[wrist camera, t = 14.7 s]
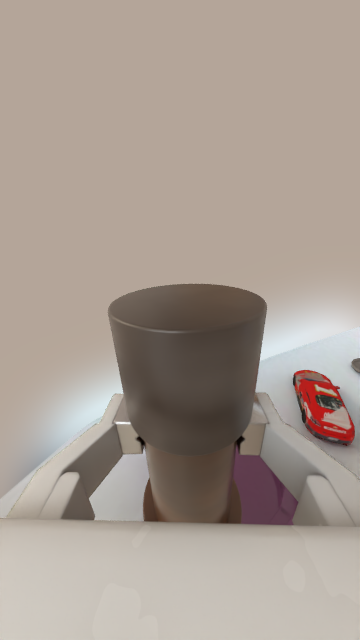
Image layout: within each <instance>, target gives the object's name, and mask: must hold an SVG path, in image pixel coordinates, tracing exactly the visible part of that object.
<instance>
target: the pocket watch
mask: <svg viewBox="0 0 360 640" xmlns="http://www.w3.org/2000/svg"><path fill="white" fill-rule="evenodd" d="M352 367H353V368H354V369H355V370H356V371H357V372H359V373H360V358H358V359H354V360H353V361H352Z"/></svg>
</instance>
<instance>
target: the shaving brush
mask: <svg viewBox="0 0 360 640" xmlns="http://www.w3.org/2000/svg"><path fill="white" fill-rule="evenodd" d="M266 310H267V305H266V302H265V301H264V299H263V298H261V297H260V296H258V295H257V294H254V293H252V292H250V291H247V290H243V289H239V288H235V287H229V286H222V285H211V284H177V285H166V286H158V287H152V288H147V289H142V290H138V291H135V292H132V293H129V294H126V295H124V296H122V297H120V298H118V299H116V300H115V301H113V302H112V303H111V304H110V306H109V308H108V316H109V320H110V326H111V331H112V336H113V341H114V346H115V352H116V357H117V362H118V367H119V371H120V377H121V382H122V387H123V393H124V398H125V403H126V408H127V413H128V418H129V421H130V423H131V425H132V427H133V429H134V430H135V432H136V433H137V434H138V435H139V436H140V437H141V438H142V439H143V440H144V446H145V452H146V458H147V465H148V471H149V480H148V482H147V485H146V489H145V493H144V500H143V516H144V521H147V522H186V523H225V524H241V519H242V507H241V499H240V495H239V491H238V488H237V485H236V482H235V480H234V478H233V473H234V464H235V454H236V445H237V439H238V438H239V437H240V436H241V435H242V434H243V433H244V431H245V430H246V428H247V427H248V425H249V422H250V420H251V416H252V411H253V404H254V396H255V389H256V382H257V375H258V368H259V361H260V354H261V347H262V340H263V333H264V324H265V318H266Z"/></svg>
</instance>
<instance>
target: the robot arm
mask: <svg viewBox="0 0 360 640" xmlns="http://www.w3.org/2000/svg"><path fill="white" fill-rule="evenodd" d="M237 448H238V452H239V455H259V456H260V457H261V458H262V460H263V461H264V462H265V463H266V464H267V465H268V467H269V468H270V469H271V470H272V471H273V473H274V474H275V475H276V476H277V477H278V478H279V480H280V481H281V482H282V483H283V484H284V486H285V487H286V488H287V489H288V490H289V492H290V493H291V494H292V495H293V496H294V497H295V499H296V500H297V501H298V505H297V508H296V511H295V514H294V516H293V519H292V522H293V524H294V525H263V524H225V523H186V522H147V521H108V520H94V518H95V514H94V511H93V509H92V506H91V504H90V501H89V497H90V496H91V495H92V494H93V492H94V491H95V490H96V489H97V487H98V486H99V485H100V484H101V482H102V481H103V480H104V479H105V477H106V476H107V475H108V474H109V472H110V471H111V470H112V469H113V467H114V466H115V465H116V464H117V462H118V461H119V460H120V459H121V457H122V456H123V455H122V454H142V453H143V449H144V440H143V439H142V438H141V437H140V436H139V435H138V434H137V433H136V432H135V430H134V429H133V427H132V425H131V423H130V421H129V418H128V413H127V408H126V403H125V398H124V394H114V395H113V396H112V398H111V400H110V402H109V404H108V406H107V408H106V411H105V413H104V415H103V417H102V419H101V421H100V423H99V424H95V425H93V426H92V427H91V428H90V429H88V430H87V431H86V432H85V433H83V434H82V435H81V436H80V437H78V438H77V439H76V440H75V441H73V442H72V443H71V444H70V445H68V446H67V447H66V448H65V449H63V450H62V451H61V452H60V453H58V454H57V455H56V456H55V457H53V458H52V459H51V460H50V461H48V462H47V463H46V464H45V465H43V466H42V467H41V468H40V469H38V470H37V471H36V473H35V474H34V476H33V477H32V479H31V480H30V482H29V483H28V485H27V486H26V488H25V490H24V491H23V493H22V494H21V496H20V497H19V499H18V500H17V502H16V503H15V505H14V506H13V508H12V509H11V511H10V512H9V514H8V515H7V517H6V518H0V640H360V481H359V479H358V478H357V476H356V475H355V474H353V473H352V472H351V471H349V470H348V469H347V468H345V467H344V466H343V465H341V464H340V463H339V462H337V461H336V460H335V459H333V458H332V457H331V456H329V455H328V454H327V453H325V452H324V451H323V450H322V449H320V448H319V447H318V446H316V445H315V444H314V443H312V442H311V441H310V440H308V439H307V438H306V437H304V436H303V435H302V434H300V433H299V432H298V431H296V430H295V429H294V428H292V427H291V426H290V425H288V424H284V423H283V422H282V420H281V418H280V416H279V414H278V412H277V411H276V409H275V407H274V405H273V403H272V401H271V399H270V398H269V396H268V394H267V393H255V396H254V404H253V411H252V416H251V420H250V422H249V425H248V427H247V428H246V430H245V431H244V433H243V434H242V435H241V436H240V437H239V438H238V439H237Z"/></svg>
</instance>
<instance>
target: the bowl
mask: <svg viewBox="0 0 360 640" xmlns="http://www.w3.org/2000/svg"><path fill="white" fill-rule="evenodd" d="M233 478H234V480H235V482H236V485H237V488H238V491H239V495H240V499H241V507H242V519H241V524H263V525H294V524H293V522H292V519H293V516H294V514H295V511H296V508H297V505H298V501H297V500H296V499H295V497H294V496H293V495H292V494H291V493H290V492H289V490H288V489H287V488H286V487H285V486H284V484H283V483H282V482H281V481H280V480H279V478H278V477H277V476H276V475H275V474H274V473H273V471H272V470H271V469H270V468H269V467H268V465H267V464H266V463H265V462H264V461H263V460H262V458H261V457H260V456H259V455H239V452H238V448H237V445H236V454H235V464H234V473H233Z"/></svg>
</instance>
